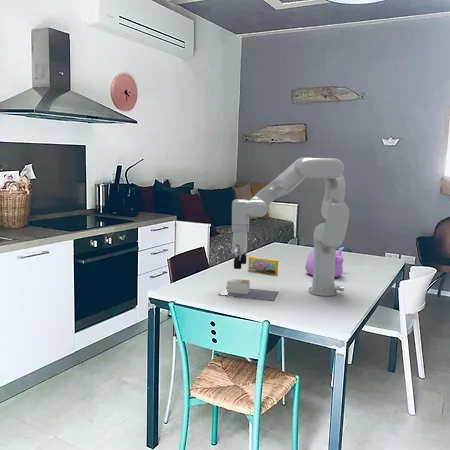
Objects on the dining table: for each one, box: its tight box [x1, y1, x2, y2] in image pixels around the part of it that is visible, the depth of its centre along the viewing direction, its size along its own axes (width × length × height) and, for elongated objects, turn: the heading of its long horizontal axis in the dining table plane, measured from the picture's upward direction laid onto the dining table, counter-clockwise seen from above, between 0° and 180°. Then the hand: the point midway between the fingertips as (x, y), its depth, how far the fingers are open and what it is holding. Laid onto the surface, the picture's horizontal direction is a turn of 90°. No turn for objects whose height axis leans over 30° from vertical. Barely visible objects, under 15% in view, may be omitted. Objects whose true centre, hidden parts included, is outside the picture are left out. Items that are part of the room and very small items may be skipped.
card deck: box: [226, 278, 251, 294], centre depth 204 cm, size 5×9×5 cm, turn 75°
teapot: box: [304, 246, 345, 278], centre depth 240 cm, size 23×21×15 cm
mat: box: [225, 285, 279, 302], centre depth 203 cm, size 24×14×1 cm, turn 75°
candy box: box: [247, 255, 279, 277], centre depth 240 cm, size 16×2×8 cm, turn 62°
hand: (240, 266), depth 203 cm, fingers open, 9 cm apart
